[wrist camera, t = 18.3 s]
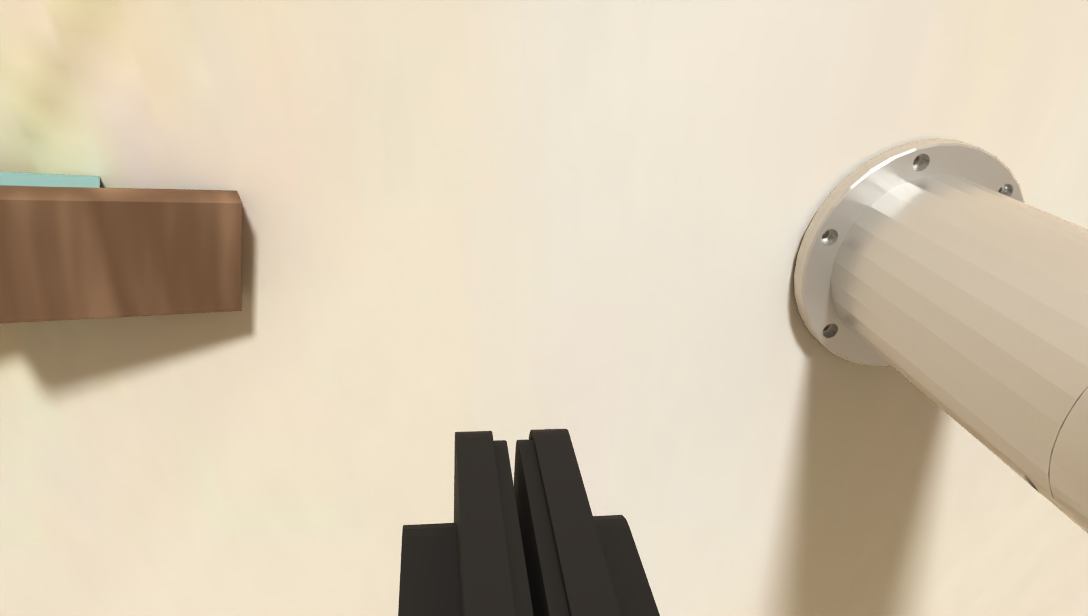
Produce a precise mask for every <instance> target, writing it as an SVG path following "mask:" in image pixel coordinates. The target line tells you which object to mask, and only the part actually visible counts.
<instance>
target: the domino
mask: <svg viewBox="0 0 1088 616" xmlns="http://www.w3.org/2000/svg"><path fill="white" fill-rule="evenodd" d="M241 290H242V202H241V199H240V197H239V195H238V192H237V191H221V190H176V189H132V188H88V187H43V186H0V323H12V322H32V321H51V320H70V319H89V318H109V317H128V316H147V315H166V314H186V313H205V312H224V311H241Z"/></svg>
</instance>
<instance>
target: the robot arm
mask: <svg viewBox="0 0 1088 616" xmlns="http://www.w3.org/2000/svg"><path fill="white" fill-rule="evenodd" d="M794 289H795V299H796V303H797V307H798V311H799V314H800V316H801V318H802V320H803V322H804V323H805V325H806V327H807V329H808V330H809V331H810V332H811V334H812V335H813V336H814V337H815V338H816V339H817V340H818V341H819V342H820V343H821V344H822V345H823V346H825V347H826V348H827V349H828V350H829V351H830V352H832V353H833V354H834V355H836V356H838V357H840V358H842V359H844V360H846V361H848V362H853V363H857V364H861V365H865V366H890V365H891V366H893V367H894V368H895V369H896V370H897V371H898V372H900V373H901V374H902V375H903V376H904V377H905V378H907V379H908V380H909V381H910V382H911V383H912V384H914V385H915V386H916V387H917V388H918V389H919V390H921V391H922V392H923V393H924V394H925V395H926V396H927V397H929V398H930V399H931V400H932V401H933V402H934V403H936V404H937V405H938V406H939V407H940V408H941V409H943V410H944V411H945V412H946V413H947V414H948V415H950V416H951V417H952V418H953V419H954V420H955V421H957V422H958V423H959V424H960V425H961V426H962V427H964V428H965V429H966V430H967V431H968V432H969V433H971V434H972V435H973V436H974V437H975V438H976V439H978V440H979V441H980V442H981V443H982V444H983V445H985V446H986V447H987V448H988V449H989V450H990V451H992V452H993V453H994V454H995V455H996V456H997V457H999V458H1000V459H1001V460H1002V461H1003V462H1004V463H1006V464H1007V465H1008V466H1009V467H1010V468H1011V469H1013V470H1014V471H1015V472H1016V473H1017V474H1018V475H1019V476H1021V477H1022V478H1023V479H1024V480H1025V481H1026V482H1028V483H1029V484H1030V485H1031V486H1032V487H1033V488H1035V489H1036V490H1037V491H1038V492H1039V493H1040V494H1042V495H1043V496H1044V497H1045V498H1047V499H1048V500H1049V501H1050V502H1052V503H1053V504H1054V505H1055V506H1056V507H1057V508H1058V509H1060V510H1061V511H1062V512H1063V513H1064V514H1065V515H1067V516H1068V517H1069V518H1070V519H1071V520H1072V521H1074V522H1075V523H1076V524H1077V525H1078V526H1080V527H1081V528H1082V529H1083V530H1084V531H1085V532H1087V533H1088V230H1087V229H1085V228H1082V227H1080V226H1078V225H1075V224H1073V223H1071V222H1068V221H1066V220H1063V219H1061V218H1059V217H1056V216H1054V215H1051V214H1049V213H1047V212H1044V211H1042V210H1039V209H1037V208H1035V207H1032V206H1030V205H1027V204H1025V203H1024V199H1023V196H1022V193H1021V189H1020V186H1019V184H1018V182H1017V181H1016V179H1015V177H1014V176H1013V174H1012V172H1011V171H1010V169H1009V168H1008V167H1007V166H1006V165H1005V164H1003V163H1002V162H1001V161H1000V160H999V159H998V158H997V157H996V156H994V155H992V154H990V153H988V152H986V151H984V150H983V149H981V148H978V147H975V146H972V145H969V144H966V143H963V142H960V141H954V140H945V139H931V140H921V141H915V142H911V143H908V144H905V145H901V146H898V147H895V148H892V149H890V150H888V151H886V152H884V153H882V154H880V155H878V156H876V157H874V158H872V159H870V160H869V161H868V162H866V163H865V164H863V165H862V166H861V167H859V168H858V169H856V170H855V171H854V172H852V173H851V174H850V175H849V176H848V177H847V178H846V179H845V180H844V181H842V182H841V183H840V184H839V185H838V186H837V187H836V188H835V189H834V190H833V191H832V192H831V194H830V195H829V196H828V198H827V199H826V200H825V202H824V203H823V204H822V205H821V207H820V208H819V209H818V211H817V212H816V214H815V216H814V218H813V220H812V221H811V223H810V225H809V227H808V229H807V230H806V232H805V235H804V238H803V241H802V243H801V246H800V249H799V252H798V255H797V261H796V267H795V273H794ZM398 616H660V615H659V612H658V609H657V606H656V603H655V600H654V597H653V595H652V592H651V589H650V586H649V583H648V580H647V577H646V574H645V571H644V568H643V565H642V563H641V560H640V557H639V554H638V551H637V548H636V545H635V542H634V539H633V536H632V534H631V531H630V528H629V525H628V523H627V521H626V519H625V518H624V517H623V516H622V515H611V516H593V515H592V512H591V508H590V505H589V501H588V498H587V494H586V491H585V487H584V484H583V480H582V477H581V473H580V470H579V466H578V463H577V460H576V456H575V453H574V449H573V446H572V442H571V439H570V435H569V432H568V430H567V429H545V430H531V431H530V434H529V440H517V442H516V453H515V472H514V486H513V480H512V473H511V467H510V460H509V454H508V447H507V442H506V440H502V441H493V435H492V431H476V432H455V474H454V523H442V524H421V525H403V533H402V552H401V572H400V592H399V612H398Z"/></svg>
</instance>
